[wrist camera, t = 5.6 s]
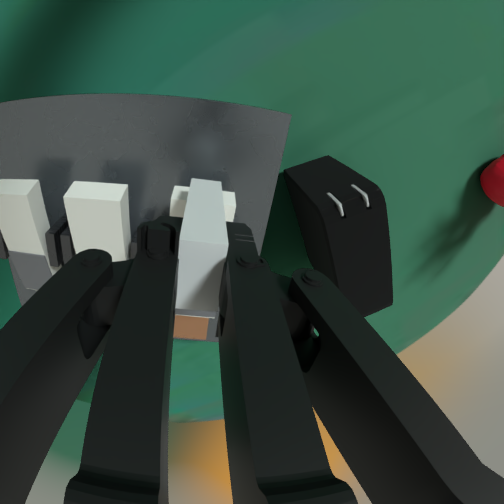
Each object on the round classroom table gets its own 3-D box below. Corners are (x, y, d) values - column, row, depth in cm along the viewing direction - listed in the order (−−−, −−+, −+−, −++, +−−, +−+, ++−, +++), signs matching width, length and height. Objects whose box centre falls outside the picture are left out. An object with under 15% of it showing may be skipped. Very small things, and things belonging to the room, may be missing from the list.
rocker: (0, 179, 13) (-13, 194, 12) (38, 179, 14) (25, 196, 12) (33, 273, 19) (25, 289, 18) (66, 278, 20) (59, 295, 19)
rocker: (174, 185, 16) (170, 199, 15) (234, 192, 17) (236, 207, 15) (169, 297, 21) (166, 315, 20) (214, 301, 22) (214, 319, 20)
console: (35, 97, 18) (-30, 109, 10) (272, 110, 22) (306, 118, 14) (47, 279, 26) (12, 335, 19) (233, 301, 31) (242, 369, 23)
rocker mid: (74, 181, 14) (62, 198, 13) (127, 184, 15) (119, 202, 14) (95, 282, 20) (89, 300, 19) (136, 287, 21) (132, 306, 20)
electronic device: (308, 260, 29) (345, 330, 21) (280, 167, 24) (320, 212, 16) (346, 246, 29) (394, 309, 21) (325, 152, 24) (385, 189, 15)
